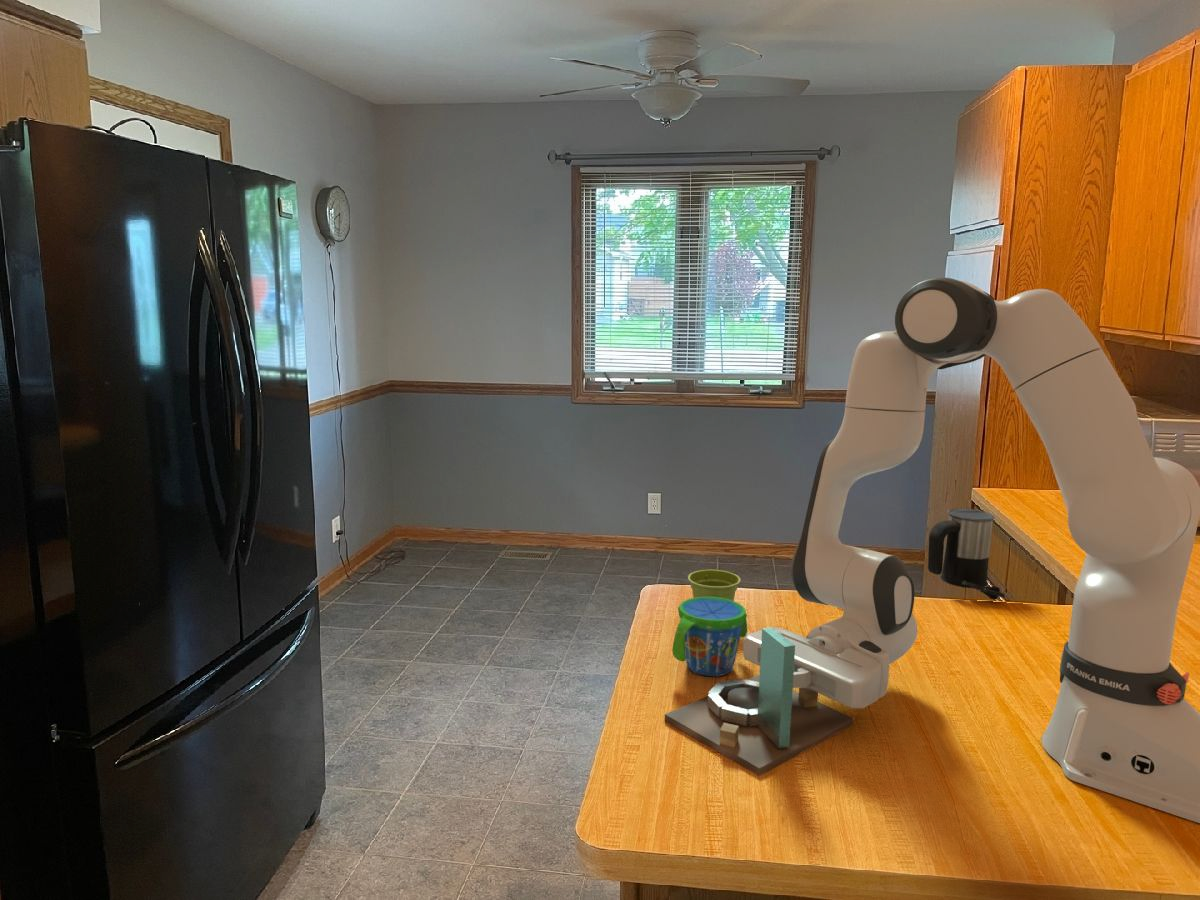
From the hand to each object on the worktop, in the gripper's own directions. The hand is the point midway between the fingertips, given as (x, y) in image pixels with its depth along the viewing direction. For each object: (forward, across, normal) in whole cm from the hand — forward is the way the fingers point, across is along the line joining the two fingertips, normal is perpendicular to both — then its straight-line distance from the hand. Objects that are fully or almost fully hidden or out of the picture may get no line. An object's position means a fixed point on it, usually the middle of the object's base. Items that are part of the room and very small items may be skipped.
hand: (772, 680), depth 111 cm
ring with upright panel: (0, -3, +7) cm, 7 cm away
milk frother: (-78, -13, +9) cm, 80 cm away
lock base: (-1, -3, +8) cm, 8 cm away
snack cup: (-8, -19, +8) cm, 23 cm away
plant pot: (-22, -32, +8) cm, 39 cm away
